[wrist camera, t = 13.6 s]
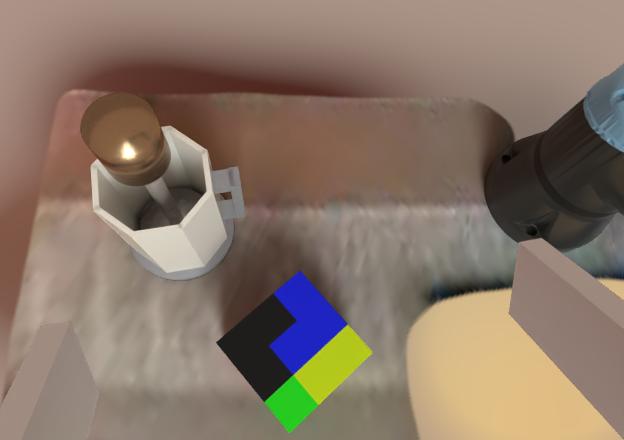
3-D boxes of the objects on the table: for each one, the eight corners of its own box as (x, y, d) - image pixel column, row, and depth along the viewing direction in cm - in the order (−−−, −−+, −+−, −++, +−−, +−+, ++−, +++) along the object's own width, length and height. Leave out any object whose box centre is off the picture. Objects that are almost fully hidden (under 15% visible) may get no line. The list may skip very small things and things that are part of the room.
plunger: (210, 185, 55) (172, 68, 34) (219, 251, 52) (184, 169, 31) (139, 196, 53) (55, 81, 33) (145, 264, 51) (58, 186, 30)
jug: (239, 174, 58) (228, 108, 44) (254, 268, 54) (248, 230, 40) (126, 190, 56) (76, 127, 42) (133, 289, 53) (83, 256, 38)
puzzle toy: (295, 289, 54) (300, 270, 45) (354, 356, 52) (372, 352, 43) (226, 349, 51) (216, 342, 42) (286, 422, 50) (289, 433, 40)
